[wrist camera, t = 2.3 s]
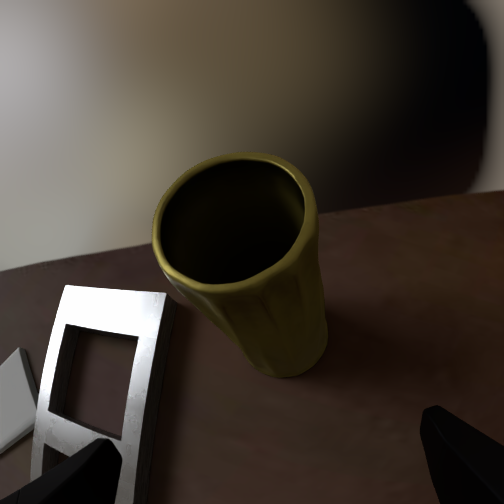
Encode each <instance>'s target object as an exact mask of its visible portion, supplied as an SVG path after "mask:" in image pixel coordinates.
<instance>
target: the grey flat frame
mask: <svg viewBox="0 0 504 504" xmlns="http://www.w3.org/2000/svg"><path fill="white" fill-rule="evenodd" d="M176 306H177V302H176V301H175V300H173V299H172V298H171V297H170V296H169V295H168V294H167V293H157V292H141V291H127V290H114V289H102V288H90V287H79V286H68V285H66V286H65V289H64V292H63V295H62V299H61V302H60V305H59V309H58V312H57V316H56V320H55V323H54V327H53V331H52V335H51V339H50V343H49V347H48V352H47V356H46V361H45V365H44V370H43V375H42V381H41V386H40V392H39V398H38V404H37V411H36V419H35V427H34V436H33V446H32V459H31V479H30V482H32V481H33V480H35V479H37V478H38V477H40V476H41V475H43V474H44V473H46V472H48V471H49V470H51V469H52V468H54V467H55V466H57V465H58V453H59V451H60V452H62V453H64V454H66V455H67V456H69V457H70V456H72V455H73V454H75V453H76V452H78V451H79V450H81V449H82V448H84V447H85V446H87V445H88V444H89V443H91V442H92V441H94V440H95V439H97V438H107V439H110V440H111V441H112V442H113V444H114V445H115V446H116V448H117V449H118V451H119V452H120V454H121V455H122V460H123V461H122V467H121V472H120V478H119V483H118V489H117V495H116V500H115V504H147V495H148V485H149V476H150V467H151V458H152V450H153V443H154V435H155V428H156V421H157V414H158V407H159V401H160V394H161V388H162V382H163V376H164V370H165V364H166V359H167V353H168V348H169V342H170V337H171V332H172V326H173V321H174V316H175V311H176ZM79 331H85V332H90V333H95V334H100V335H105V336H111V337H117V338H122V339H128V340H134V341H138V344H137V349H136V354H135V359H134V365H133V370H132V375H131V381H130V387H129V392H128V399H127V405H126V411H125V418H124V425H123V432H122V436H119V435H116V434H113V433H110V432H107V431H104V430H102V429H99V428H96V427H94V426H91V425H89V424H86V423H84V422H81V421H79V420H76V419H74V418H72V417H69V416H67V415H65V414H63V412H64V405H65V399H66V393H67V387H68V382H69V377H70V372H71V367H72V362H73V357H74V353H75V348H76V344H77V340H78V335H79Z"/></svg>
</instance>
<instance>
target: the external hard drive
mask: <svg viewBox="0 0 504 504" xmlns="http://www.w3.org/2000/svg"><path fill="white" fill-rule="evenodd" d="M38 398H39V395H38V392H37V389H36V386H35V383H34V380H33V377H32V373H31V370H30V367H29V363H28V359H27V356H26V352H25V349H23V348H21V347H19V348H18V349H17V350H16V351H15V352H14V353H13V354H12V355H11V356H10V357H9V358H8V359H7V360H6V361H5V362H4V363H3V364H2V365H1V366H0V454H1V453H3V452H4V451H5V450H7V449H8V448H9V447H11V446H12V445H13V444H14V443H16V442H17V441H18V440H20V439H21V438H22V437H24V436H25V435H26V434H28V433H29V432H30V431H32V430H33V429H34V427H35V419H36V411H37V404H38Z"/></svg>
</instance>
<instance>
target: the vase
mask: <svg viewBox="0 0 504 504" xmlns="http://www.w3.org/2000/svg"><path fill="white" fill-rule="evenodd" d="M318 236H319V219H318V213H317V206H316V202H315V198H314V194H313V191H312V188H311V185H310V184H309V182H308V180H307V179H306V177H304V175H303V174H302V173H301V172H300V171H299V170H298V169H297V168H296V167H294V166H293V165H292V164H290V163H289V162H287V161H286V160H284V159H282V158H280V157H278V156H274V155H271V154H265V153H258V152H237V153H231V154H226V155H221V156H217V157H214V158H211V159H208V160H206V161H203V162H201V163H199V164H197V165H196V166H194V167H192V168H191V169H189V170H187V171H186V172H185V173H184V174H183V175H182V176H180V177H179V178H178V179H177V180H176V181H175V182H174V183H173V185H172V186H171V187H170V188H169V189H168V190H167V191H166V193H165V194H164V195H163V197H162V198H161V200H160V202H159V204H158V206H157V209H156V211H155V214H154V218H153V226H152V247H153V251H154V254H155V256H156V258H157V261H158V263H159V265H160V267H161V268H162V270H163V272H164V274H165V275H166V277H167V278H168V279H169V281H170V282H171V283H172V285H173V286H174V287H175V288H176V289H177V290H178V291H179V292H180V293H181V294H182V295H183V296H184V297H185V298H186V299H188V300H189V301H190V302H191V303H192V304H193V305H194V306H195V307H196V308H197V309H199V310H200V311H201V312H202V313H203V314H204V315H205V316H206V317H207V318H208V319H209V320H210V321H211V322H212V323H214V324H215V325H216V326H217V327H218V328H220V329H221V330H222V331H223V332H224V333H225V334H226V335H227V336H228V337H229V338H230V339H231V340H232V341H233V342H234V343H235V344H236V345H237V346H238V347H239V348H240V349H241V350H242V352H243V354H244V356H245V358H246V359H247V361H248V362H249V363H250V364H251V365H252V366H253V367H254V368H255V369H256V370H258V371H259V372H261V373H264V374H266V375H269V376H272V377H290V376H296V375H299V374H301V373H303V372H305V371H307V370H308V369H310V368H311V367H313V366H314V365H315V364H316V363H317V362H318V360H319V359H320V357H321V356H322V354H323V353H324V351H325V348H326V345H327V341H328V327H327V322H326V319H325V302H324V290H323V284H322V279H321V273H320V267H319V262H318Z"/></svg>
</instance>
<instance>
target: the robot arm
mask: <svg viewBox="0 0 504 504" xmlns="http://www.w3.org/2000/svg"><path fill="white" fill-rule="evenodd" d="M420 436H421V440H422V444H423V447H424V451H425V455H426V459H427V463H428V467H429V472H430V475H431V479H432V482H433V485H434V488H435V491H436V493H437V496H438V499H439V501H440V504H504V446H503V445H501V444H499V443H498V442H496V441H495V440H493V439H491V438H490V437H488V436H486V435H485V434H483V433H482V432H480V431H478V430H477V429H475V428H474V427H472V426H470V425H469V424H467V423H466V422H464V421H463V420H461V419H459V418H458V417H456V416H455V415H453V414H452V413H450V412H448V411H447V410H445V409H444V408H442V407H441V406H438V405H435V406H432V407H429V408H426V409H424V411H423V414H422V420H421V425H420ZM122 461H123V460H122V455H121V454H120V452H119V451H118V449H117V448H116V446H115V445H114V444H113V442H112V441H111V440H110V439H107V438H97V439H95V440H94V441H92V442H91V443H89V444H88V445H87V446H85V447H84V448H82V449H81V450H79V451H78V452H76V453H75V454H73V455H72V456H70V457H69V458H67V459H66V460H64V461H63V462H61V463H60V464H58V465H57V466H55V467H54V468H52V469H51V470H49V471H48V472H46V473H44V474H43V475H41V476H40V477H38V478H37V479H35V480H33V481H32V482H30V483H29V484H27V485H25V486H24V487H22V488H21V489H19V490H17V491H16V492H14V493H12V494H11V495H9V496H7V497H5V498H3V499H2V500H0V504H114V503H115V500H116V495H117V489H118V483H119V478H120V472H121V467H122Z"/></svg>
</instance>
